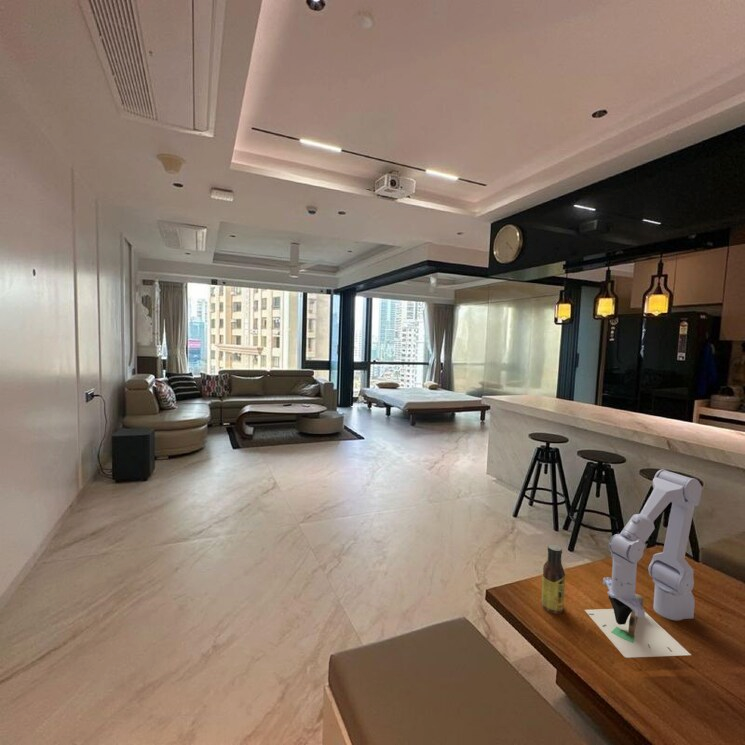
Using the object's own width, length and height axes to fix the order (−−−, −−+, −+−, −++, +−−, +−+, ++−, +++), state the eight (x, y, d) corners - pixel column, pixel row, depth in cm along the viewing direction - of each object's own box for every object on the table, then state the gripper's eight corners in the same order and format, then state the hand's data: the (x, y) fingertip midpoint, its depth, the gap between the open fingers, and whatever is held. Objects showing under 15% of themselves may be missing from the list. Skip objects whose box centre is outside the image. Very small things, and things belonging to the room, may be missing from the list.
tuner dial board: (640, 611, 120) (640, 607, 120) (691, 658, 102) (691, 654, 102) (584, 612, 119) (584, 609, 119) (624, 661, 102) (625, 657, 101)
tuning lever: (631, 606, 120) (631, 592, 120) (642, 610, 118) (643, 596, 118) (623, 636, 108) (624, 621, 108) (636, 642, 106) (637, 626, 106)
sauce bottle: (562, 619, 117) (565, 556, 115) (539, 611, 120) (542, 549, 118) (564, 606, 122) (567, 546, 120) (542, 599, 125) (545, 540, 124)
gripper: (594, 563, 118) (591, 606, 119) (628, 595, 103) (624, 643, 104) (616, 563, 118) (614, 605, 119) (653, 594, 104) (650, 642, 105)
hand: (620, 623), depth 112 cm, fingers closed
